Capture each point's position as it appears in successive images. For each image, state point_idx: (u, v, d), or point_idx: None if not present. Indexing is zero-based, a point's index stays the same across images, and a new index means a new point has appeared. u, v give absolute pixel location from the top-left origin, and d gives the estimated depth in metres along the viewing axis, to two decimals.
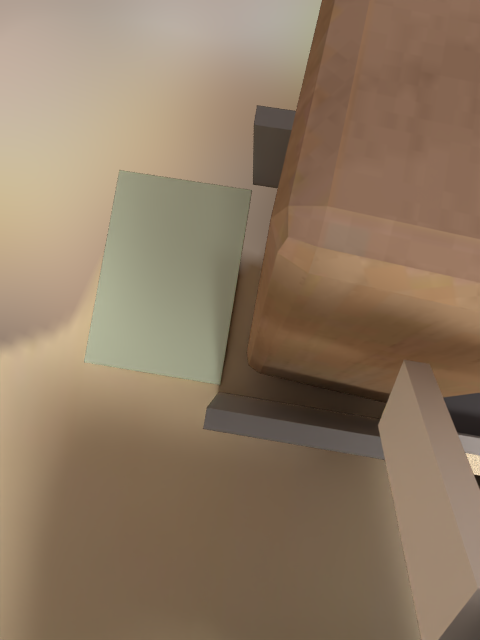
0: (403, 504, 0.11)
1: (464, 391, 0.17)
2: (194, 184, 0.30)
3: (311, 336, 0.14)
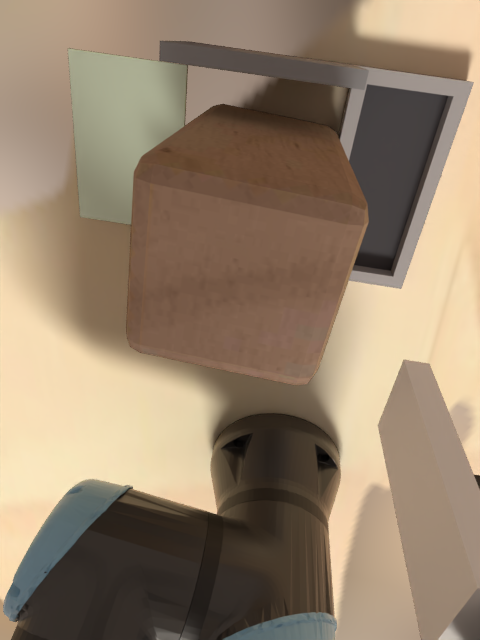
0: (403, 504, 0.11)
1: None
2: (135, 61, 0.33)
3: None
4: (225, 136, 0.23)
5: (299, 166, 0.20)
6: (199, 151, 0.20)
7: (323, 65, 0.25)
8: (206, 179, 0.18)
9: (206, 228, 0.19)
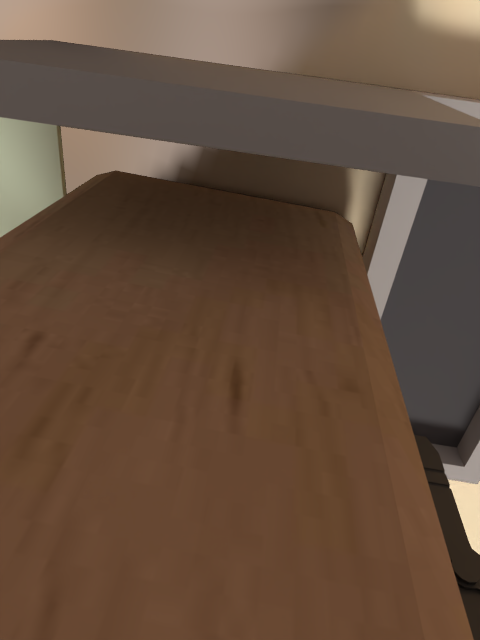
0: None
1: None
2: None
3: None
4: None
5: None
6: None
7: (360, 115, 0.08)
8: None
9: None
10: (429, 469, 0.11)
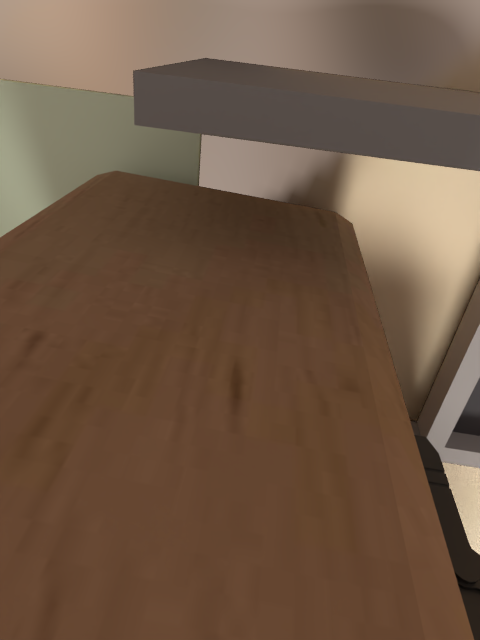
0: None
1: None
2: (97, 99, 0.16)
3: None
4: None
5: None
6: None
7: None
8: None
9: None
10: (429, 469, 0.11)
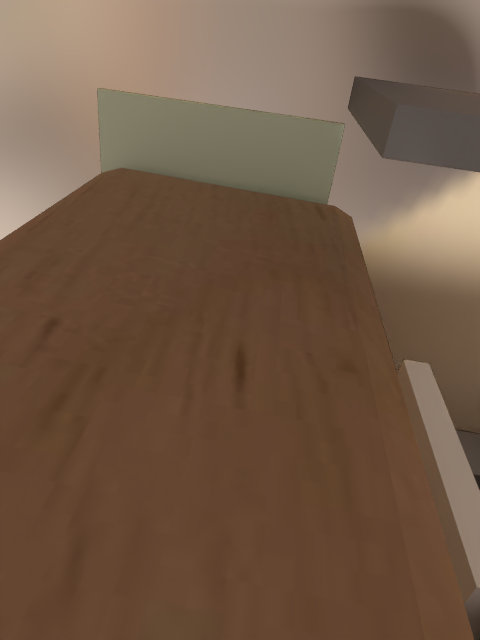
0: None
1: None
2: (237, 115, 0.16)
3: None
4: None
5: None
6: None
7: None
8: None
9: None
10: None
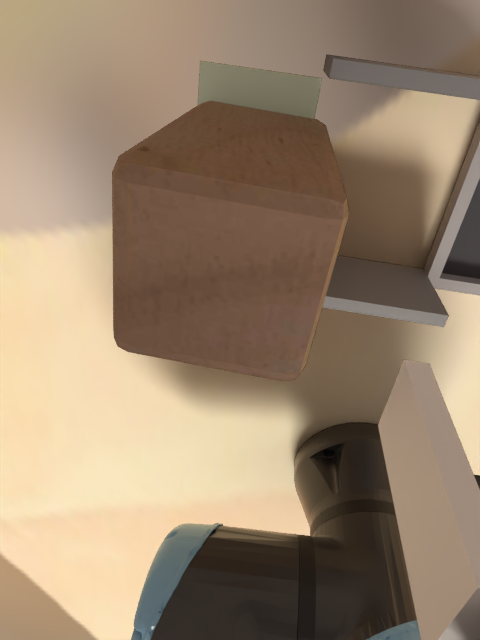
0: (403, 504, 0.11)
1: None
2: (269, 74, 0.33)
3: None
4: (208, 133, 0.23)
5: (280, 161, 0.20)
6: (178, 149, 0.19)
7: None
8: (183, 177, 0.18)
9: (185, 226, 0.19)
10: None
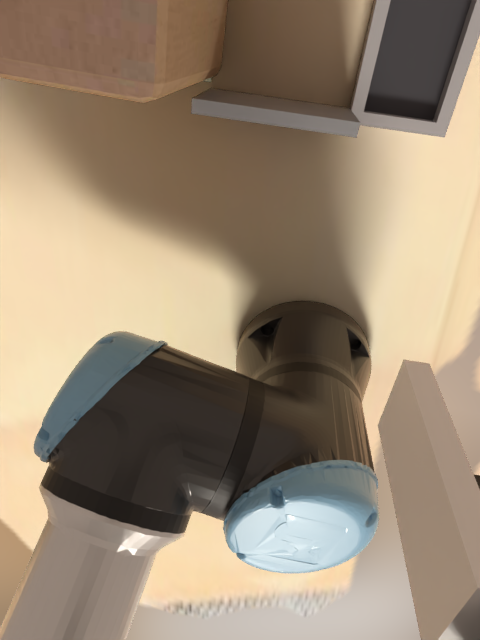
0: (403, 504, 0.11)
1: None
2: None
3: None
4: None
5: None
6: None
7: None
8: None
9: None
10: None
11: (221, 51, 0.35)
